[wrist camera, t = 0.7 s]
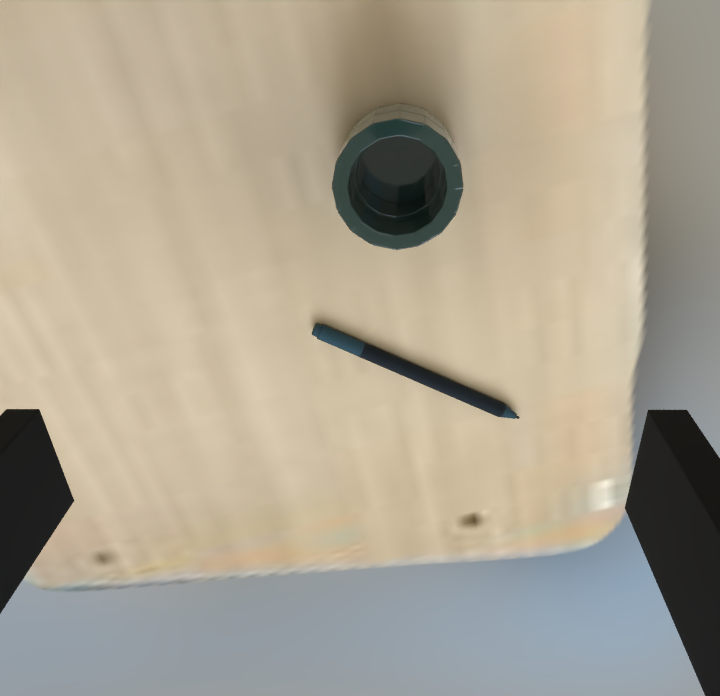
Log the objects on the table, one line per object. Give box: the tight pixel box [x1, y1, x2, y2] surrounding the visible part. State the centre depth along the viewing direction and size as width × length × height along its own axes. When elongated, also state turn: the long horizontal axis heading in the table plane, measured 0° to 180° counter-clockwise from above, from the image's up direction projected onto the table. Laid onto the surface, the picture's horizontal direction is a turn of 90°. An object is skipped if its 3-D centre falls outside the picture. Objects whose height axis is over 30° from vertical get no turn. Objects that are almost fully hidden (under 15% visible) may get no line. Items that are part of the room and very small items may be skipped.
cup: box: [332, 104, 463, 250], centre depth 32 cm, size 6×6×6 cm
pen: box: [312, 324, 519, 419], centre depth 41 cm, size 1×16×1 cm, turn 66°
